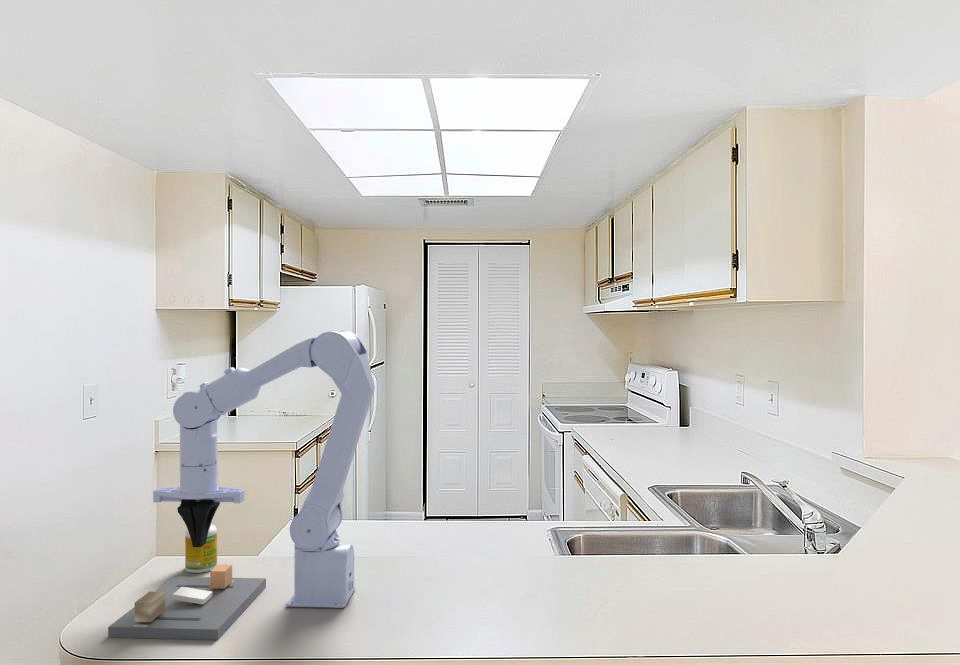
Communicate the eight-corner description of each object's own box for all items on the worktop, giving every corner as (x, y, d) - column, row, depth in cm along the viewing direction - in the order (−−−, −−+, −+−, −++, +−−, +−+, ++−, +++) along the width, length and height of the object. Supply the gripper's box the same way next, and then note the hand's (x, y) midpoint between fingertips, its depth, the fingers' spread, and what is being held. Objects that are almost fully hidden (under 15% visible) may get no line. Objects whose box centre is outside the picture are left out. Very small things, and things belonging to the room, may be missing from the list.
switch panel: (265, 587, 114) (265, 576, 114) (217, 639, 95) (217, 626, 95) (174, 585, 114) (174, 574, 114) (108, 637, 96) (108, 624, 95)
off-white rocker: (211, 596, 106) (212, 591, 106) (203, 604, 103) (204, 599, 103) (181, 591, 106) (182, 586, 106) (171, 599, 103) (172, 594, 103)
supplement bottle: (205, 574, 119) (205, 520, 119) (178, 572, 120) (178, 519, 120) (222, 564, 125) (222, 512, 124) (197, 562, 126) (197, 510, 125)
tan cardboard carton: (164, 610, 100) (164, 591, 100) (150, 622, 96) (150, 602, 96) (149, 609, 100) (149, 591, 100) (134, 621, 96) (134, 602, 96)
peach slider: (232, 581, 112) (232, 564, 111) (224, 588, 109) (224, 571, 108) (218, 581, 112) (218, 564, 112) (210, 588, 109) (210, 571, 109)
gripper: (251, 458, 114) (251, 537, 114) (168, 458, 114) (168, 536, 114) (234, 467, 107) (235, 552, 107) (146, 466, 107) (146, 550, 107)
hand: (199, 545), depth 110 cm, fingers closed
